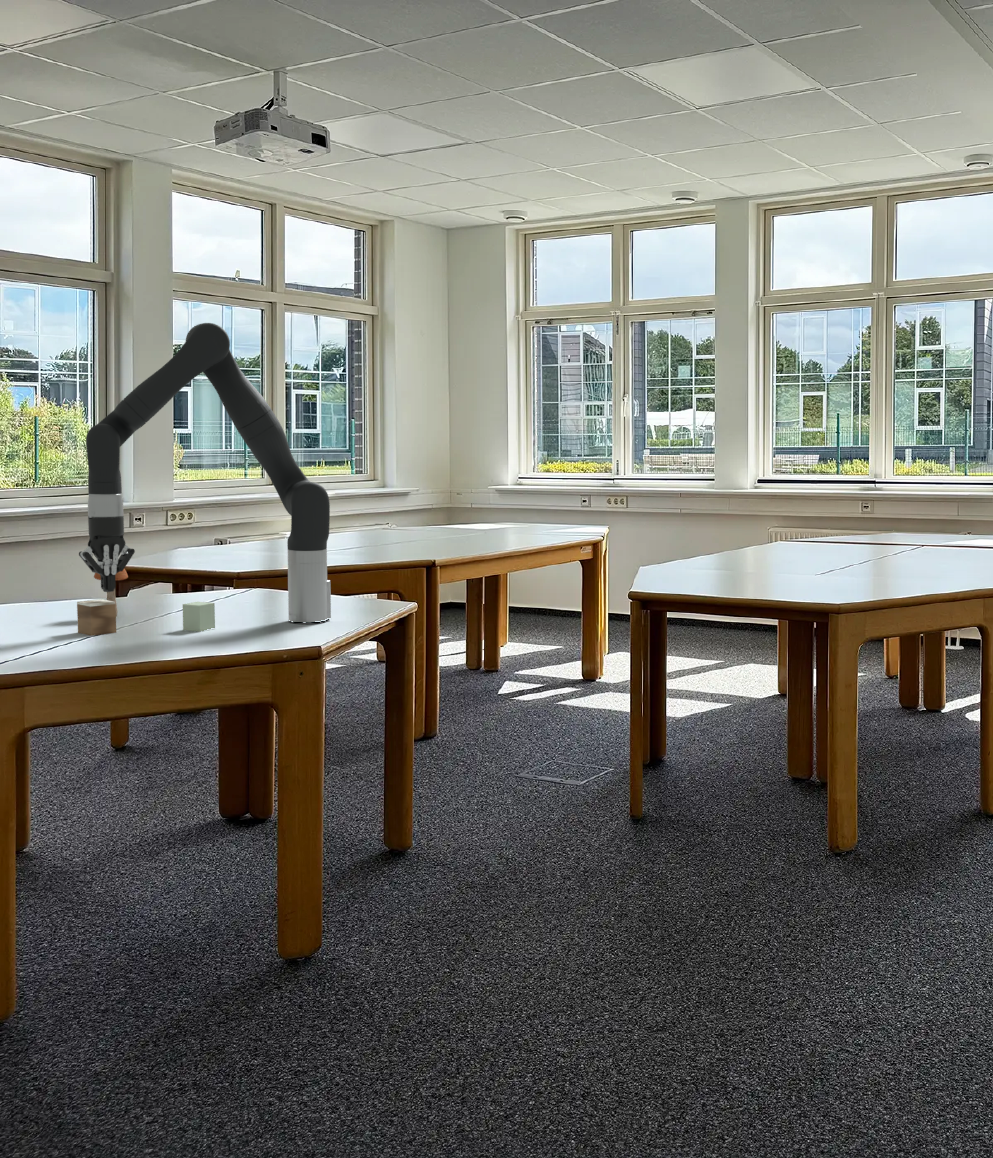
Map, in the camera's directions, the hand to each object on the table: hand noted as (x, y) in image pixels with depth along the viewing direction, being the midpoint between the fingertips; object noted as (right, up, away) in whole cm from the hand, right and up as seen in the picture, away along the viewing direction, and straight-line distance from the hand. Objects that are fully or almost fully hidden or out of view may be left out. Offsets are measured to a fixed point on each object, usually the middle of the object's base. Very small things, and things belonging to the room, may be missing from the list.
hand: (108, 591), depth 265 cm
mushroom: (-6, -7, +22) cm, 24 cm away
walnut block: (-2, -2, -1) cm, 4 cm away
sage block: (+19, -9, +4) cm, 22 cm away
